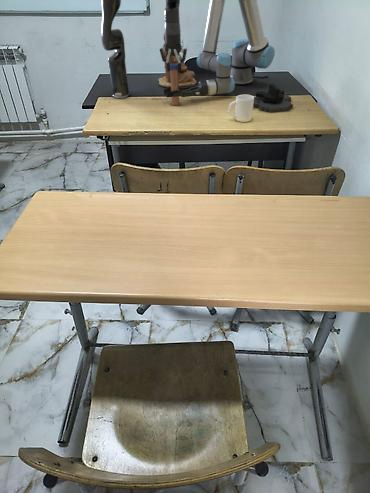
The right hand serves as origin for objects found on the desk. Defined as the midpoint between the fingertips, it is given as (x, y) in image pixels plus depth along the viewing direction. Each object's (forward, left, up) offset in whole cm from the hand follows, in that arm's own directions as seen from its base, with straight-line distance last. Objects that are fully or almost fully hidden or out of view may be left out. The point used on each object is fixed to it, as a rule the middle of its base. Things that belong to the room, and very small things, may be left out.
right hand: (165, 93), depth 188 cm
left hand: (-5, +2, +10) cm, 12 cm away
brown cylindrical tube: (-5, +2, -6) cm, 8 cm away
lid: (-5, +2, +13) cm, 14 cm away
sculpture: (-33, -26, -6) cm, 42 cm away
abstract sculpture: (-37, +41, -6) cm, 56 cm away
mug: (-11, +42, -6) cm, 44 cm away
